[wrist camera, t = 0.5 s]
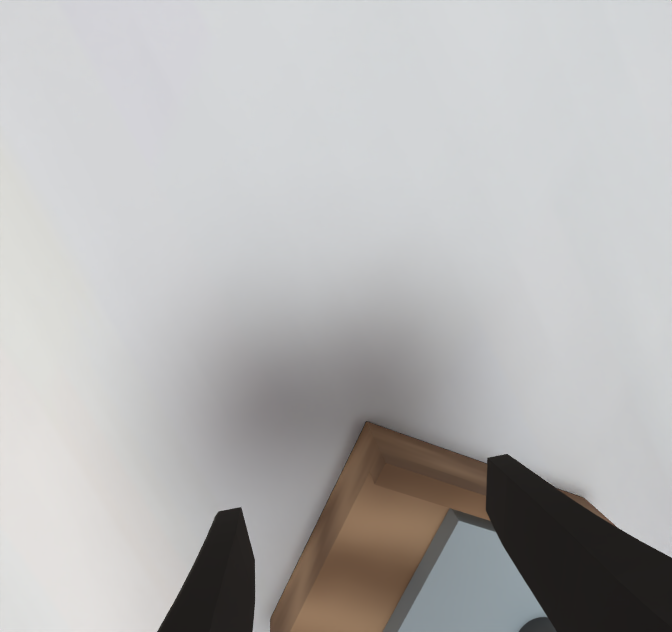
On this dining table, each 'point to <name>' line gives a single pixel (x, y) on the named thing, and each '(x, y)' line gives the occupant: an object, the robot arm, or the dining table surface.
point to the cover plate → (467, 585)
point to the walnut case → (379, 531)
